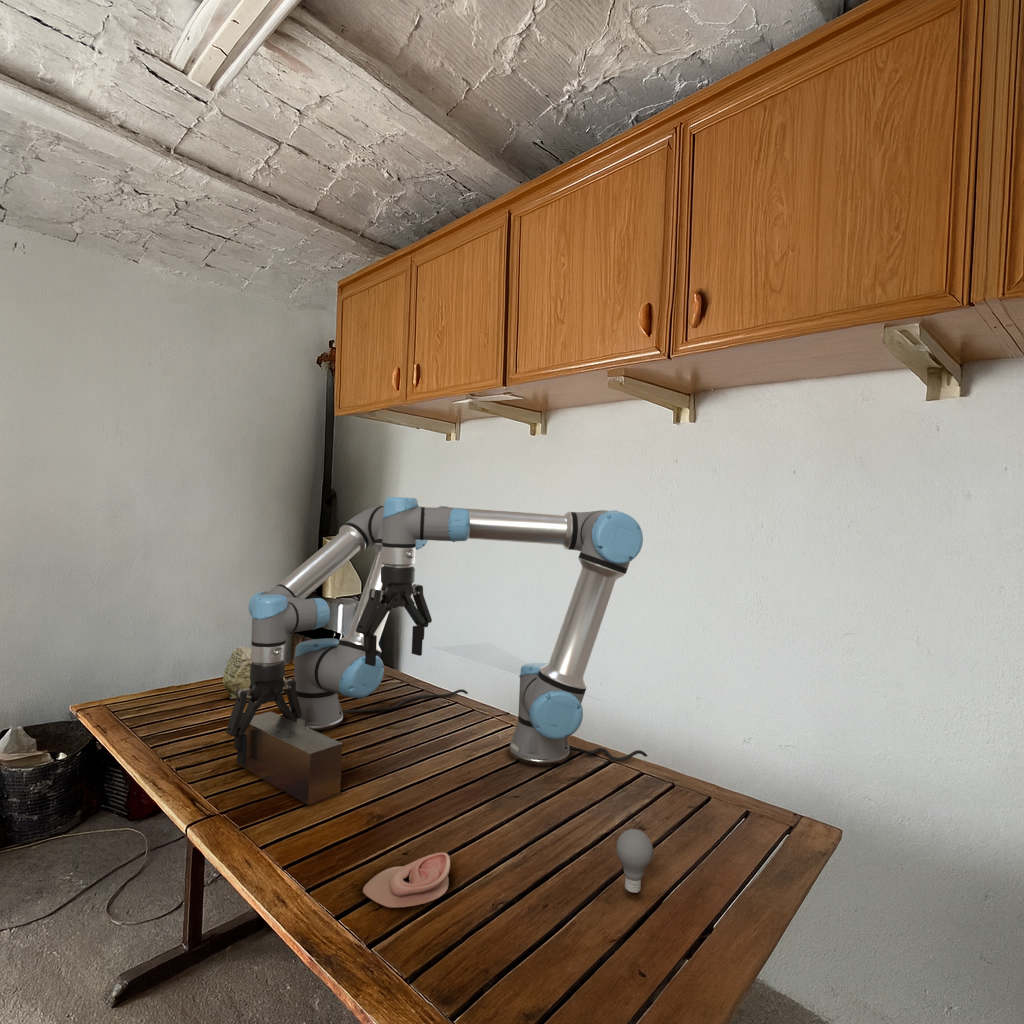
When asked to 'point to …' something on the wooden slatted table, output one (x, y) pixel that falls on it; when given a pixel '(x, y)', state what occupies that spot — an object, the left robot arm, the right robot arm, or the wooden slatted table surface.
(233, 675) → the fossil
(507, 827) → the wooden slatted table surface
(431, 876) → the anatomical model
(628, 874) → the light bulb
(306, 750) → the box
